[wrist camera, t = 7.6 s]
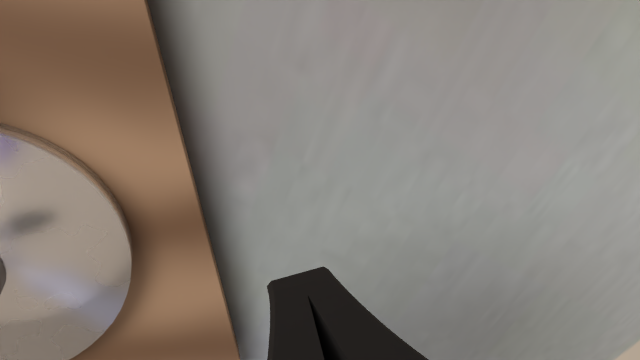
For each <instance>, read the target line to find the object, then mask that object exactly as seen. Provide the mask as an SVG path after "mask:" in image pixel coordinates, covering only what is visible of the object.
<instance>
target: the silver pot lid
mask: <svg viewBox="0 0 640 360" xmlns="http://www.w3.org/2000/svg"><path fill="white" fill-rule="evenodd" d="M132 253H133V250H132V240H131V234H130V230H129V226H128V223H127V220H126V218H125V215H124V213H123V211H122V209H121V206H120V205H119V203H118V202H117V200H116V198H115V197H114V195H113V194H112V192H111V191H110V189H109V188H108V187H107V186H106V185H105V184H104V182H103V181H102V180H101V179H100V178H99V177H98V176H97V175H96V174H95V173H94V172H93V171H92V170H91V169H90V168H89V167H87V166H86V165H85V164H84V163H83V162H82V161H80V160H79V159H77V158H76V157H74V156H73V155H72V154H70V153H69V152H67V151H66V150H64V149H63V148H61V147H59V146H57V145H55V144H54V143H52V142H50V141H48V140H46V139H44V138H42V137H39V136H37V135H35V134H32V133H30V132H28V131H25V130H23V129H20V128H16V127H13V126H10V125H6V124H3V123H0V261H1V262H2V264H3V265H4V268H5V270H6V282H5V285H4V287H3V290H2V292H1V295H0V360H69V359H71V358H73V357H74V356H76V355H78V354H79V353H81V352H82V351H83V350H85V349H86V348H88V347H89V346H90V345H92V344H93V343H94V342H95V341H96V340H97V339H98V338H99V337H100V336H101V335H103V333H104V332H105V331H106V330H107V329H108V327H109V326H110V325H111V324H112V323H113V321H114V320H115V318H116V316H117V315H118V313H119V312H120V310H121V308H122V306H123V303H124V301H125V299H126V296H127V293H128V289H129V285H130V280H131V267H132Z"/></svg>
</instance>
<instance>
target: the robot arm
mask: <svg viewBox="0 0 640 360" xmlns="http://www.w3.org/2000/svg"><path fill="white" fill-rule="evenodd" d="M267 289H268V293H269V299H270V336H269V349H268V359H267V360H428V359H427V358H425V357H424V356H423V355H421V354H420V353H419V352H417V351H416V350H415V349H413V348H412V347H411V346H409V345H408V344H407V343H406V342H404V341H403V340H402V339H400V338H399V337H398V336H397V335H396V334H394V333H393V332H392V331H391V330H390V329H388V328H387V327H386V326H385V325H384V324H383V323H381V322H380V321H379V320H378V319H377V318H376V317H375V316H374V315H372V314H371V313H370V312H369V311H368V310H367V309H366V308H365V307H364V306H363V305H361V304H360V303H359V302H358V301H357V300H356V299H355V298H354V297H353V296H352V295H351V294H350V293H349V292H348V291H347V290H346V289H345V288H344V286H343V285H342V284H341V283H340V282H339V281H338V280H337V279H336V278H335V277H334V275H333V274H332V273H331V272H330V271H329V269H327V268H325V267H320V268H317V269H313V270H309V271H306V272H302V273H299V274H295V275H291V276H288V277H284V278H281V279H277V280H273V281H271V282H270V283H269V285H268V286H267Z"/></svg>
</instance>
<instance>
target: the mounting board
mask: <svg viewBox="0 0 640 360" xmlns="http://www.w3.org/2000/svg"><path fill="white" fill-rule="evenodd" d="M0 123H3V124H6V125H10V126H13V127H16V128H20V129H23V130H25V131H28V132H30V133H32V134H35V135H37V136H39V137H42V138H44V139H46V140H48V141H50V142H52V143H54V144H55V145H57V146H59V147H61V148H63V149H64V150H66V151H67V152H69V153H70V154H72V155H73V156H74V157H76V158H77V159H79V160H80V161H82V162H83V163H84V164H85V165H86V166H87V167H89V168H90V169H91V170H92V171H93V172H94V173H95V174H96V175H97V176H98V177H99V178H100V179H101V180H102V181H103V182H104V184H105V185H106V186H107V187H108V188H109V189H110V191H111V192H112V194H113V195H114V197H115V198H116V200H117V202H118V203H119V205H120V206H121V209H122V211H123V213H124V215H125V218H126V220H127V223H128V226H129V230H130V234H131V240H132V250H133V253H132V267H131V280H130V285H129V289H128V293H127V296H126V299H125V301H124V303H123V306H122V308H121V310H120V312H119V313H118V315H117V316H116V318H115V320H114V321H113V323H112V324H111V325H110V326H109V327H108V329H107V330H106V331H105V332H104V333H103V335H101V336H100V337H99V338H98V339H97V340H96V341H95V342H94V343H93V344H92V345H90V346H89V347H88V348H86V349H85V350H83V351H82V352H81V353H79V354H78V355H76V356H74V357H73V358H71V359H69V360H240V355H239V349H238V344H237V340H236V336H235V333H234V329H233V325H232V321H231V317H230V314H229V310H228V306H227V302H226V298H225V295H224V291H223V287H222V283H221V279H220V276H219V272H218V268H217V264H216V260H215V257H214V253H213V249H212V245H211V241H210V237H209V234H208V230H207V226H206V222H205V218H204V215H203V211H202V207H201V203H200V199H199V196H198V192H197V188H196V184H195V180H194V177H193V173H192V169H191V165H190V161H189V158H188V154H187V150H186V146H185V142H184V139H183V135H182V131H181V127H180V123H179V119H178V116H177V112H176V108H175V104H174V100H173V97H172V93H171V89H170V85H169V81H168V78H167V74H166V70H165V66H164V62H163V59H162V55H161V51H160V47H159V43H158V40H157V36H156V32H155V28H154V24H153V21H152V17H151V13H150V9H149V5H148V1H147V0H0ZM5 282H6V270H5V268H4V265H3V264H2V262H1V261H0V295H1V292H2V290H3V287H4V285H5Z"/></svg>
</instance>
